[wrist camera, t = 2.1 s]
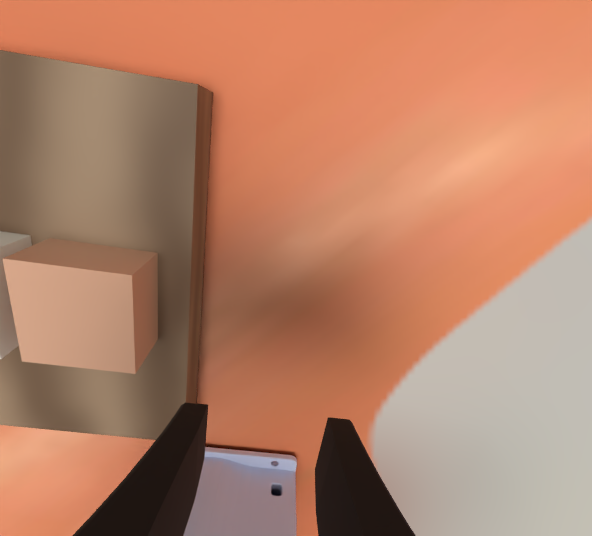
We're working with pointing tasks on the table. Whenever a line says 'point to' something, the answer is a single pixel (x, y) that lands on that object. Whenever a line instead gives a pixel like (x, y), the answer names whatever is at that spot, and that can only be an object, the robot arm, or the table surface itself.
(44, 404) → the walnut board
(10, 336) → the cream tile
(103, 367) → the terracotta tile
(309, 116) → the table surface
